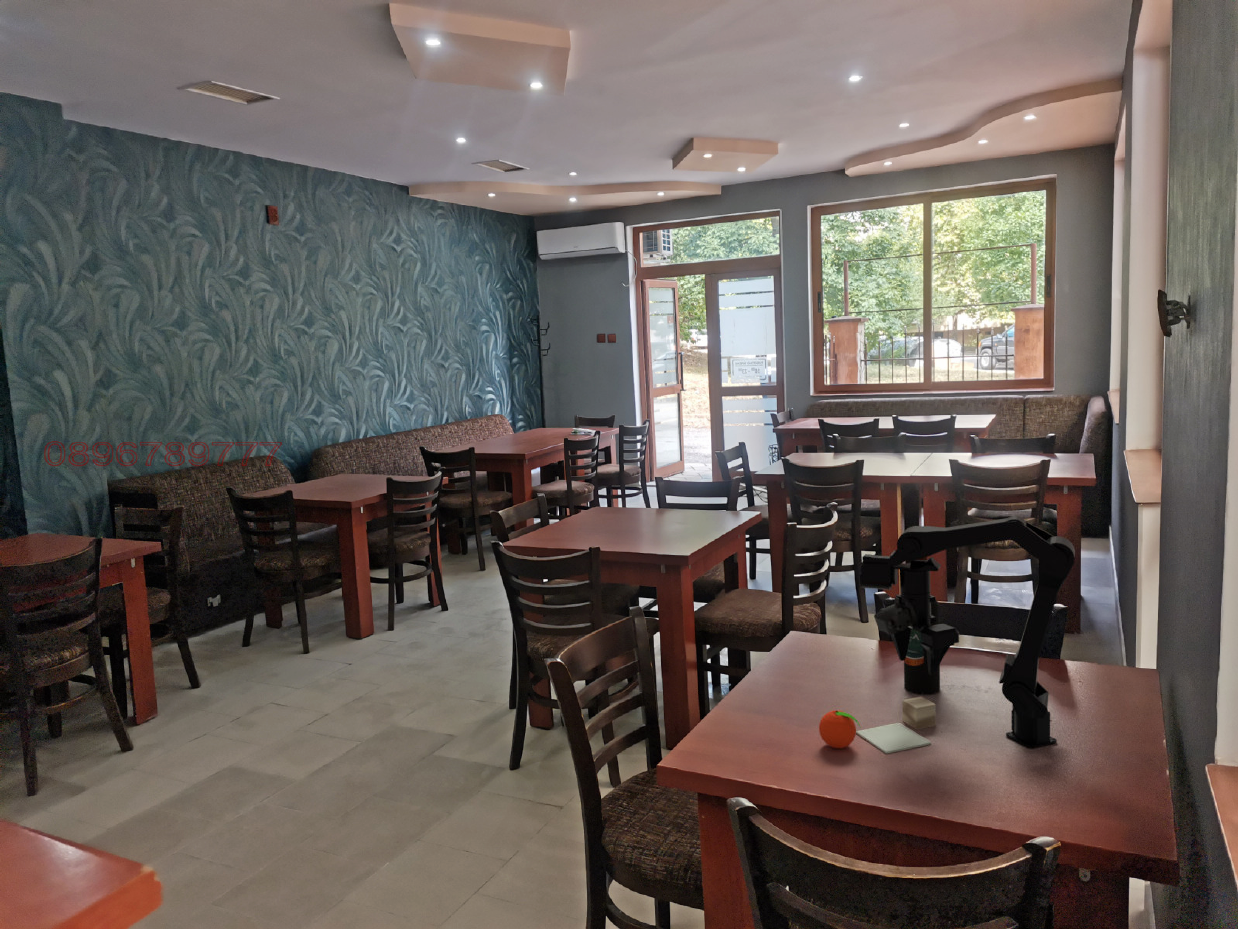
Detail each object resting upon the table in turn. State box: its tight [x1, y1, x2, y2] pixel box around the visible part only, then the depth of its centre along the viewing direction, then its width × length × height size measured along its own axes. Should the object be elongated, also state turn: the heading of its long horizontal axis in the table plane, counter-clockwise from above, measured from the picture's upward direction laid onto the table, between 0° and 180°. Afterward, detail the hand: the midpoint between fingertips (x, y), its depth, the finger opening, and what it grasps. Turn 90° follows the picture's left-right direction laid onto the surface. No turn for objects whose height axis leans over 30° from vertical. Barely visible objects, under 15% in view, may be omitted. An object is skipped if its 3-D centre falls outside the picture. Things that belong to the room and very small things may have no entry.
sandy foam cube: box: [901, 696, 937, 730], centre depth 177 cm, size 4×4×4 cm
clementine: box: [818, 709, 862, 749], centre depth 168 cm, size 8×7×7 cm
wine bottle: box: [903, 557, 941, 696], centre depth 193 cm, size 8×8×30 cm
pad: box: [856, 722, 932, 754], centre depth 170 cm, size 10×10×1 cm
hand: (916, 667), depth 175 cm, fingers open, 9 cm apart
